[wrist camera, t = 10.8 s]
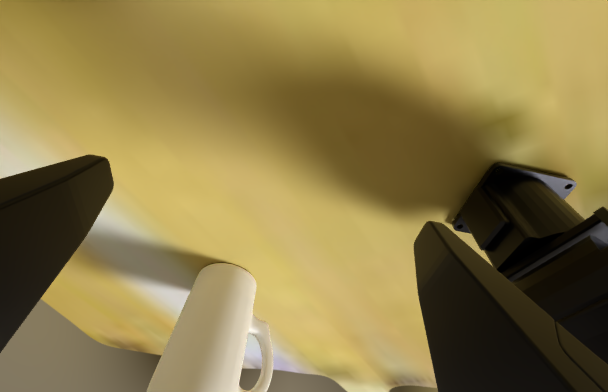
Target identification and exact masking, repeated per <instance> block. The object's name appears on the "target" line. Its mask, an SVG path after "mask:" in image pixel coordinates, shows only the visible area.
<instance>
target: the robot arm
mask: <svg viewBox="0 0 608 392" xmlns="http://www.w3.org/2000/svg"><path fill="white" fill-rule="evenodd" d="M497 169H500V170H499V171H497V172H496V170H497ZM567 184H568V185H567ZM113 186H114V182H113V177H112V173H111V168H110V164H109V161H108V159H107V158H105V157H101V156H96V155H85V156H82V157H78V158H74V159H71V160H67V161H63V162H60V163H56V164H53V165H49V166H45V167H42V168H38V169H34V170H31V171H27V172H23V173H20V174H16V175H13V176H9V177H5V178H2V179H0V353H1V351H2V350H3V349H4V347H5V346H6V344H7V343H8V341H9V340H10V339H11V338H12V336H13V335H14V334H15V332H16V331H17V330H18V328H19V327H20V326H21V324H22V323H23V321H24V320H25V319H26V317H27V316H28V315H29V313H30V312H31V311H32V309H33V308H34V306H35V305H36V304H37V302H38V301H39V300H40V298H41V297H42V296H43V294H44V293H45V292H46V290H47V289H48V288H49V286H50V285H51V284H52V282H53V281H54V279H55V278H56V277H57V275H58V274H59V273H60V271H61V270H62V269H63V267H64V266H65V265H66V263H67V262H68V260H69V259H70V258H71V256H72V255H73V254H74V252H75V251H76V250H77V248H78V247H79V246H80V244H81V243H82V241H83V240H84V238H85V237H86V236H87V234H88V232H89V231H90V229H91V227H92V226H93V224H94V222H95V220H96V219H97V217H98V215H99V213H100V212H101V210H102V208H103V206H104V205H105V203H106V201H107V199H108V198H109V196H110V194H111V192H112V190H113ZM575 187H576V182H575V181H574V180H573V179H571V178H568V177H563V176H558V175H554V174H549V173H545V172H540V171H535V170H531V169H526V168H522V167H517V166H512V165H508V164H503V163H495V164H493V165H492V166H491V167H490V168H489V170H488V171H487V173H486V174H485V176H484V177H483V179H482V180H481V182H480V183H479V184H478V186H477V187H476V189H475V190H474V191H473V193H472V194H471V196H470V197H469V199H468V200H467V202H466V203H465V205H464V206H463V207H462V209H461V210H460V212H459V214H458V215H457V217H456V218H455V220H454V221H453V223H452V226H453V228H454V229H455V230H456V231H461V232H466V233H471V234H472V235H473V237H474V239H475V241H476V242H477V244H478V246H479V248H480V249H481V250H484V251H485V253H486V255H487V256H488V258H489V260H490V262H491V263H492V265H493V266H491V265H490V264H489V263H488V262H487V261H486V260H485V259H483V258H482V257H481V256H480V255H479V254H478V253H476V252H475V251H474V250H473V249H472V248H471V247H469V246H468V245H467V244H466V243H465V242H464V241H462V240H461V239H460V238H459V237H458V236H457V235H456V234H454V233H453V232H452V231H451V230H450V229H449V228H447V227H446V226H445V225H444V224H442V223H439V222H433V221H428V222H427V223H426V224H425V225H424V226H423V228H422V230H421V231H420V233H419V235H418V236H417V238H416V240H415V242H414V256H415V267H416V278H417V288H418V296H419V301H420V306H421V311H422V316H423V320H424V325H425V330H426V335H427V340H428V345H429V349H430V354H431V359H432V364H433V369H434V373H435V378H436V383H437V388H438V392H608V210H607V209H606V208H605V207H601V208H600V209H598V210H596V211H595V212H593V213H594V215H592V216H590V217H589V218H587V219H586V220H585V219H584V218H583V217H581V216H580V215H579V214H578V213H577V212H576V211H575V210H574V209H573V208H572V207H571V206H570V205H569V204H568V203H567V202H566V201H565V200H564V199H565V198H566V197H567V196H568V195H569V194H570V192H571V191H572V190H573V189H574V188H575ZM459 224H460V225H459Z"/></svg>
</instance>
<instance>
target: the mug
mask: <svg viewBox="0 0 608 392" xmlns="http://www.w3.org/2000/svg"><path fill="white" fill-rule="evenodd" d="M255 293H256V281H255V279H254V277H253V276H252V275H251V274H250V273H249V272H248V271H246V270H245V269H243V268H241V267H239V266H236V265H233V264H227V263H215V264H211V265H208V266H206V267H204V268H203V269H202V270H201V271H200V272H199V274H198V276H197V279H196V281H195V283H194V285H193V287H192V290H191V292H190V294H189V296H188V298H187V300H186V302H185V305H184V307H183V309H182V312H181V314H180V316H179V318H178V321H177V323H176V325H175V327H174V330H173V332H172V334H171V336H170V338H169V341H168V343H167V345H166V347H165V350H164V352H163V354H162V356H161V359H160V361H159V363H158V365H157V368H156V370H155V372H154V374H153V377H152V379H151V381H150V384H149V386H148V389H147V392H266V391H267V389H268V386H269V384H270V381H271V377H272V372H273V351H272V344H271V338H270V332H269V326H268V323H267V322H265V321H262V320H260V319H258V318H257V317H255V316H254V315H253V313H252V311H253V305H254V299H255ZM248 333H250V334H252V335H254V336H255V337H256V338H257V340H258V342H259V345H260V348H261V353H262V370H261V375H260V377H259V380H258V382H257V383H256V385H255V387H254V388H253V389H251V390H250V391H245V390H243V389H242V388H241V387H240V386H239V380H240V375H241V369H242V364H243V359H244V353H245V348H246V342H247V337H248Z"/></svg>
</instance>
